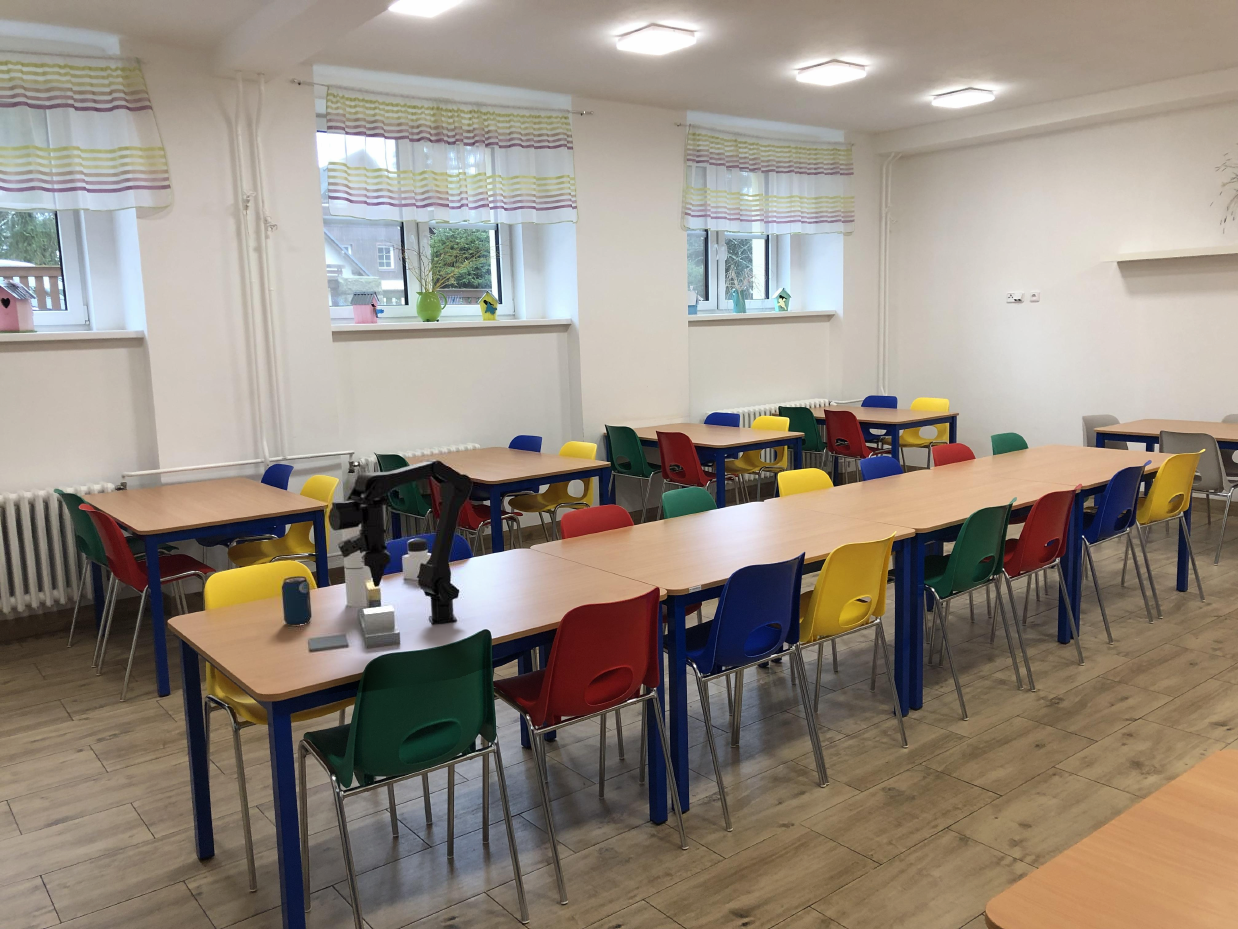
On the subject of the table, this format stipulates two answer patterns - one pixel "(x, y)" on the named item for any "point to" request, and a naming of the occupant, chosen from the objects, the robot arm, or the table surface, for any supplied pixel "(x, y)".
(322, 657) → the table surface
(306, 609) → the soda can
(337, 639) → the mat
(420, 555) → the medicine bottle
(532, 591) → the table surface
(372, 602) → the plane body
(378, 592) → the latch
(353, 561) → the cylindrical container
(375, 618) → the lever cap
